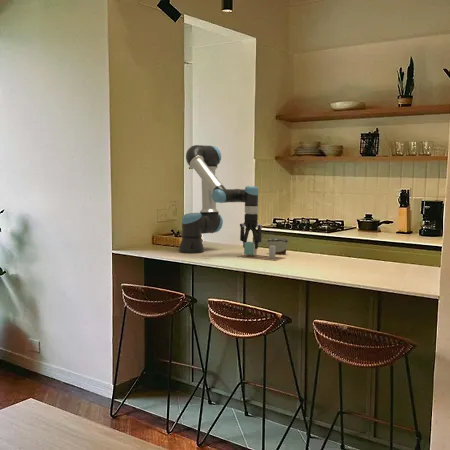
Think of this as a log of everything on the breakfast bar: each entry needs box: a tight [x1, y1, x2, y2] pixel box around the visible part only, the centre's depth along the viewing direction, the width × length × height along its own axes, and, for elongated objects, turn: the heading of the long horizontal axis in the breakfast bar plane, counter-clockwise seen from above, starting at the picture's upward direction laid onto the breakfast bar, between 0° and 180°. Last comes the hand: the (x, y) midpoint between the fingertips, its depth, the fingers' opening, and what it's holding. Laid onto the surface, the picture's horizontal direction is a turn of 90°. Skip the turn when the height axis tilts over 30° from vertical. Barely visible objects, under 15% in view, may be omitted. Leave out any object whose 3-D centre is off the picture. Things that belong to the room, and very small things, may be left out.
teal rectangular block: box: [243, 241, 255, 255], centre depth 320 cm, size 5×5×7 cm
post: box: [268, 245, 276, 259], centre depth 313 cm, size 3×3×7 cm
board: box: [236, 254, 286, 262], centre depth 317 cm, size 25×14×1 cm, turn 57°
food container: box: [267, 237, 289, 256], centre depth 331 cm, size 12×6×10 cm, turn 84°
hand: (250, 253), depth 321 cm, fingers closed on teal rectangular block, 5 cm apart
